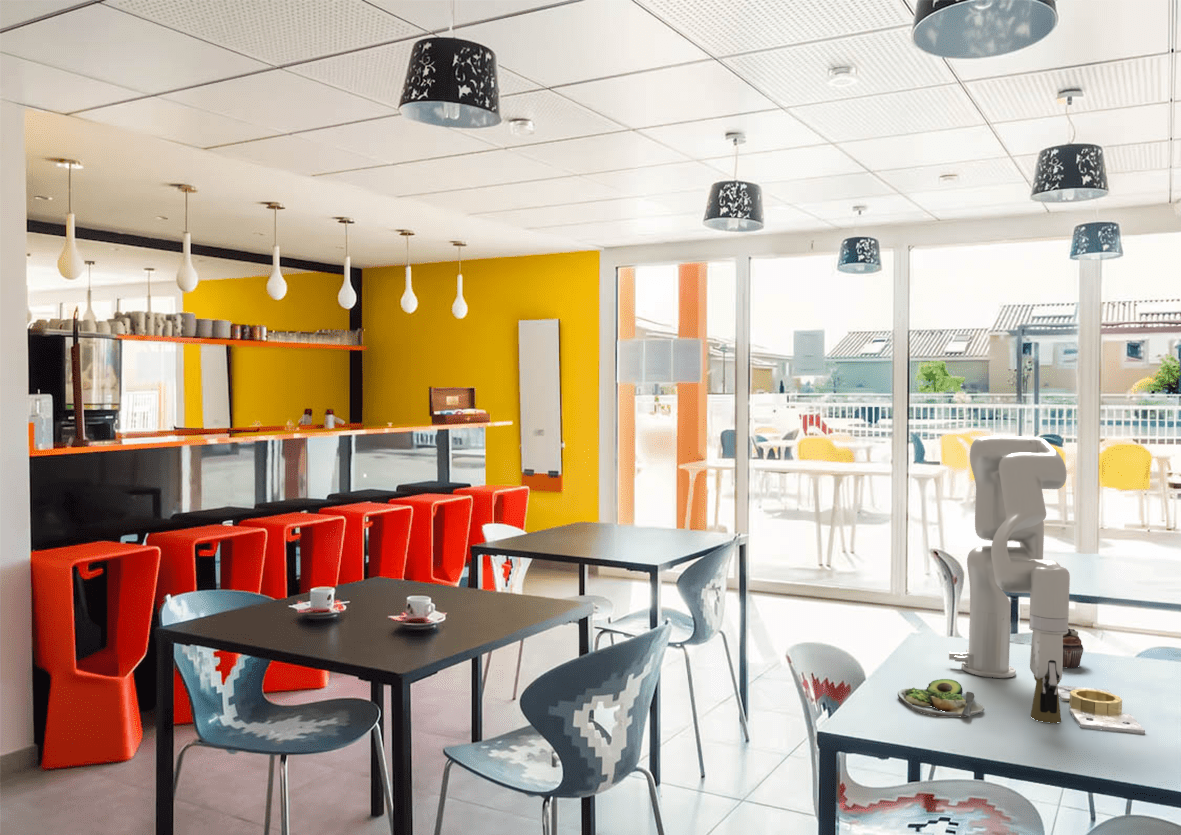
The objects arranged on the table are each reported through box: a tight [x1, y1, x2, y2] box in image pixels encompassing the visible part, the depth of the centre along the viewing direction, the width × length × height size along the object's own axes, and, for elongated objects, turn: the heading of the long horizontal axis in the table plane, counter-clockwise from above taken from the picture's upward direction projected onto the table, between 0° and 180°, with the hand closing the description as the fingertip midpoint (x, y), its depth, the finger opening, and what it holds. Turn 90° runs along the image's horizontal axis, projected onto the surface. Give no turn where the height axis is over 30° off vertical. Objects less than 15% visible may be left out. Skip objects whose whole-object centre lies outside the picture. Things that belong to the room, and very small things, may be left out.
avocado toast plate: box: [897, 678, 985, 718], centre depth 214 cm, size 19×18×5 cm
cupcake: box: [1063, 626, 1084, 669], centre depth 253 cm, size 10×10×10 cm
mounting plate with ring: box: [1057, 684, 1146, 735], centre depth 215 cm, size 12×30×3 cm, turn 165°
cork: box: [1030, 674, 1062, 724], centre depth 207 cm, size 6×6×11 cm
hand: (1046, 708), depth 207 cm, fingers closed on cork, 4 cm apart
